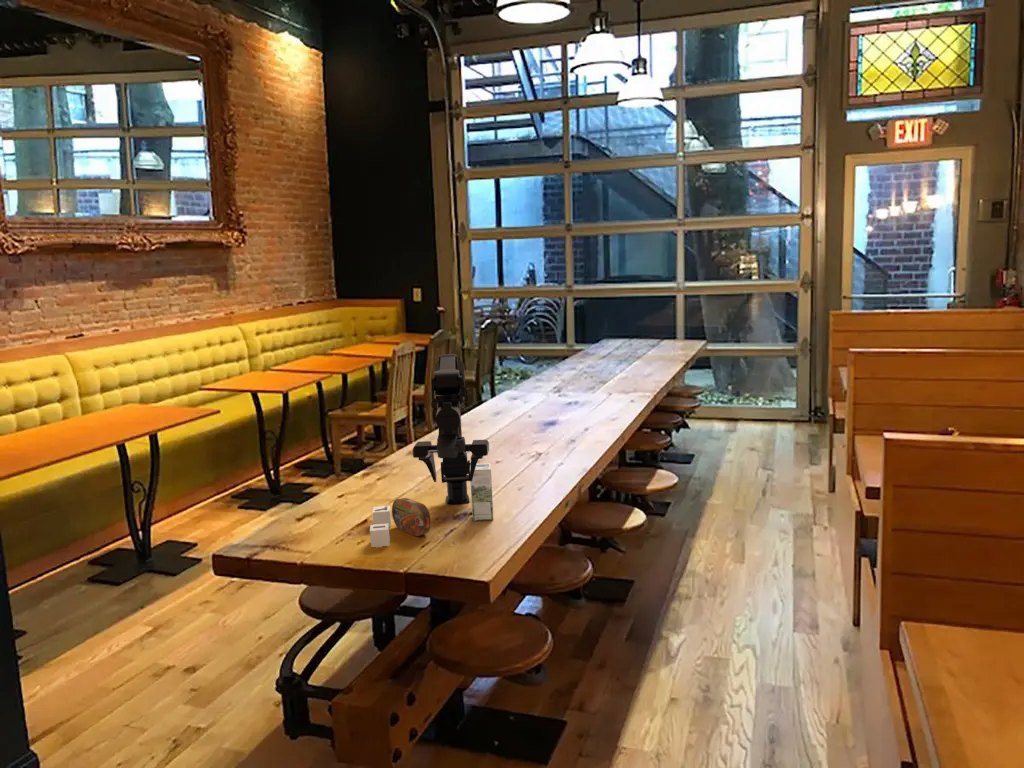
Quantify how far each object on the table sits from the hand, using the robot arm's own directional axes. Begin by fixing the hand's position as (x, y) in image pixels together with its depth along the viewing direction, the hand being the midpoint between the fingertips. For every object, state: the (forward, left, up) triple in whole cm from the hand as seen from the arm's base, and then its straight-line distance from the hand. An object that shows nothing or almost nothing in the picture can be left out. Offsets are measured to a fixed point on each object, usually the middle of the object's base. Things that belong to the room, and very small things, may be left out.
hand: (453, 481), depth 210 cm
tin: (-5, -11, -15) cm, 19 cm away
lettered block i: (+2, -19, -14) cm, 24 cm away
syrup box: (-11, +8, -15) cm, 20 cm away
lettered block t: (-12, -19, -14) cm, 27 cm away
